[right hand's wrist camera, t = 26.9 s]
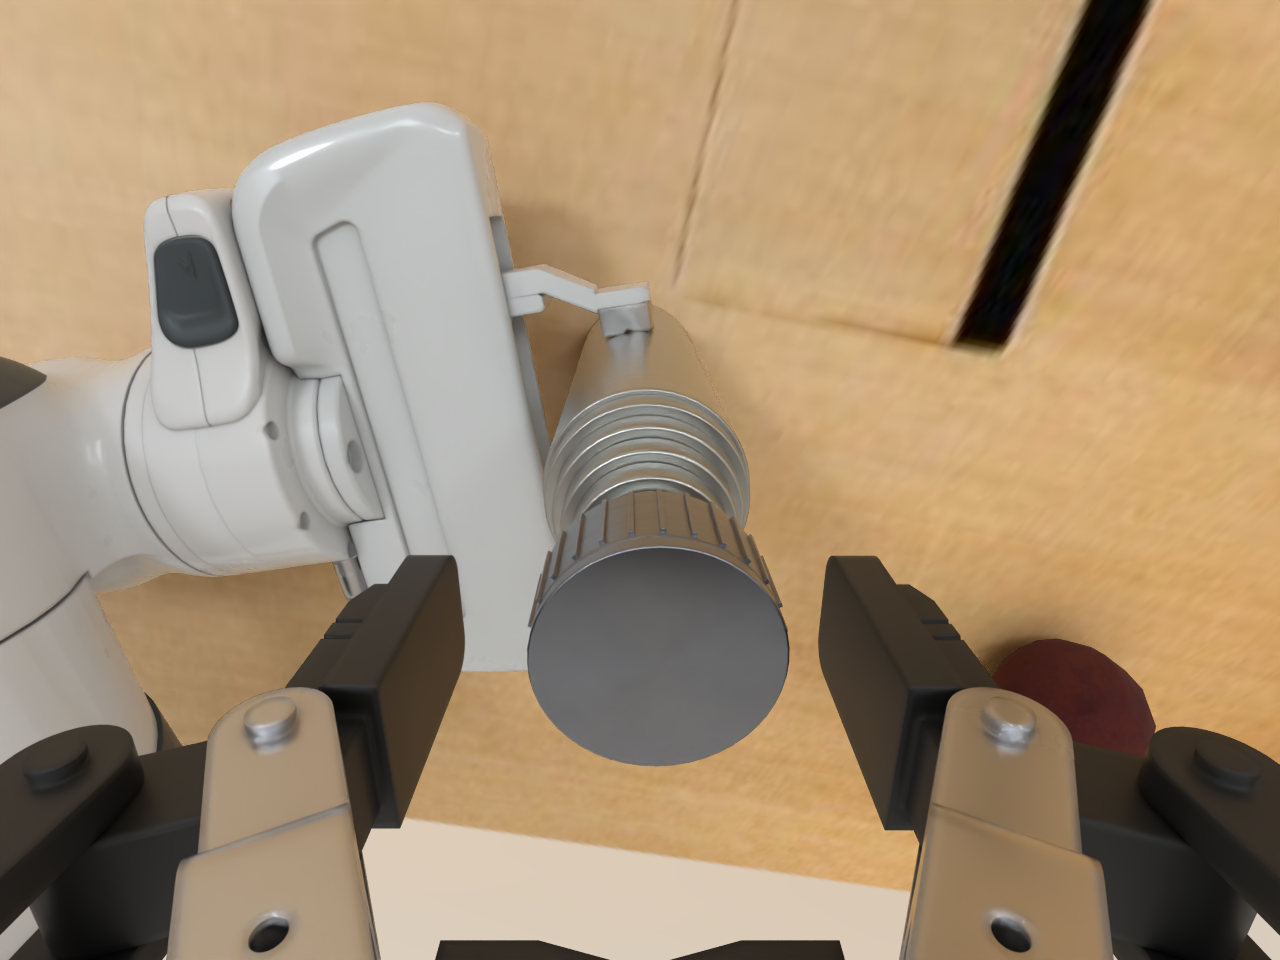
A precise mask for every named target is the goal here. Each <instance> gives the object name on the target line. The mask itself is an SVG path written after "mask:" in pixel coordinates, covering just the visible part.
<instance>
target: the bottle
mask: <svg viewBox="0 0 1280 960" xmlns="http://www.w3.org/2000/svg"><path fill="white" fill-rule="evenodd" d="M652 312H653V319H654V329H652V330H649V331H644V332H633V331H631V330H629V329H628V330H627V331H626V332H625V333H624V334H620V335H617V336H611V337H604V338H603V334H602V329H601V324H600V319H599V320H598V321H597V322H596V323H595V324H594V326H593V327H592V329H591V330H590V332H589V333H588V336H587V338H586V340H585V343H584V347H583V350H582V353H581V356H580V359H579V362H578V365H577V368H576V371H575V374H574V377H573V380H572V383H571V386H570V389H569V392H568V395H567V398H566V401H565V405H564V408H563V411H562V414H561V417H560V420H559V423H558V426H557V429H556V432H555V435H554V438H553V441H552V444H551V447H550V450H549V453H548V457H547V460H546V464H545V468H544V475H543V495H544V506H545V513H546V519H547V522H548V526H549V529H550V531H551V534H552V536H553V538H554V540H555V542H556V543H557V541H558V538H559V534H560V532H561V531H562V530H564V531H566V530H567V529H568V527H569V526H570V525H571V524H572V523H573V522H574V521H576V520H577V519H578V515H579V514H580V513H581V512H583V513H586V512H587V511H589V510H591V509H592V508H594V507H596V506H597V505H599V504H601V503H602V500H604V499H607V501H608V500H611V499H614V498H617V497H620V496H623V495H628V492H630V491H633V492H634V493H638V492H644V491H646V492H651V491H656V489H662V492H672V493H678V494H684V492H686V493H689V495H690V496H691V497H694V498H697V499H700V500H702V501H704V502H707V503H710V502H713V503H715V506H716V508H718V509H719V510H721V511H723V512H724V513H726V514H727V515H728V516H729V517H732V516H734V517H735V518H736V519H737V522H738V524H739V526H740V527H741V528H742V529H743V530H744V527H745V525H746V521H747V517H748V513H749V506H750V482H749V470H748V464H747V460H746V457H745V454H744V451H743V448H742V446H741V444H740V442H739V440H738V438H737V436H736V434H735V432H734V430H733V428H732V426H731V424H730V422H729V420H728V418H727V416H726V414H725V412H724V409H723V407H722V405H721V403H720V401H719V399H718V397H717V395H716V393H715V391H714V389H713V387H712V385H711V383H710V381H709V379H708V377H707V375H706V373H705V371H704V369H703V367H702V365H701V363H700V361H699V359H698V356H697V354H696V352H695V350H694V348H693V346H692V344H691V342H690V340H689V338H688V336H687V334H686V332H685V330H684V329H683V327H682V326H681V325H680V323H679V322H678V321H677V320H676V319H675V318H674V317H673V316H671V315H670V314H669V313H667V312H666V311H664V310H662V309H660V308H657V307H654V306H652Z"/></svg>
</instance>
